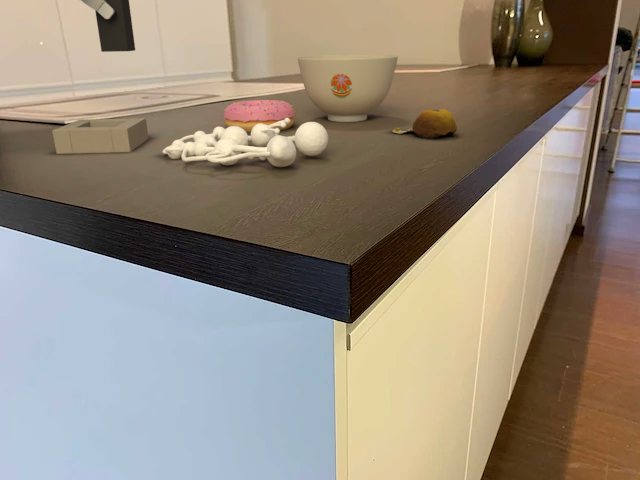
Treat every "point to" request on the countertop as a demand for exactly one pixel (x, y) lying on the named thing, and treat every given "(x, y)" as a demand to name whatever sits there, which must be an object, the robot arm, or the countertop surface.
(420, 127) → the fruit
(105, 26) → the black orange-banded block
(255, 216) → the countertop surface
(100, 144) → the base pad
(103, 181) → the countertop surface
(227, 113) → the doughnut
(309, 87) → the bowl
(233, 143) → the tangled rod sculpture
